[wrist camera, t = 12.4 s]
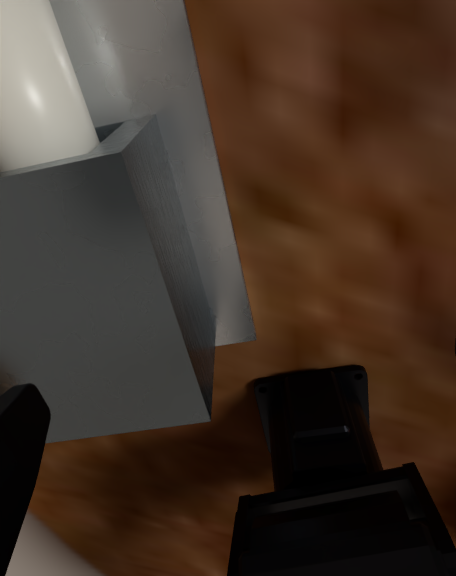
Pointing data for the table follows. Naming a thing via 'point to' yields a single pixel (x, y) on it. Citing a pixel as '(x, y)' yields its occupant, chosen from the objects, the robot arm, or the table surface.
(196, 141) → the grey slotted base
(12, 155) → the cube-topped plunger
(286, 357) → the table surface
